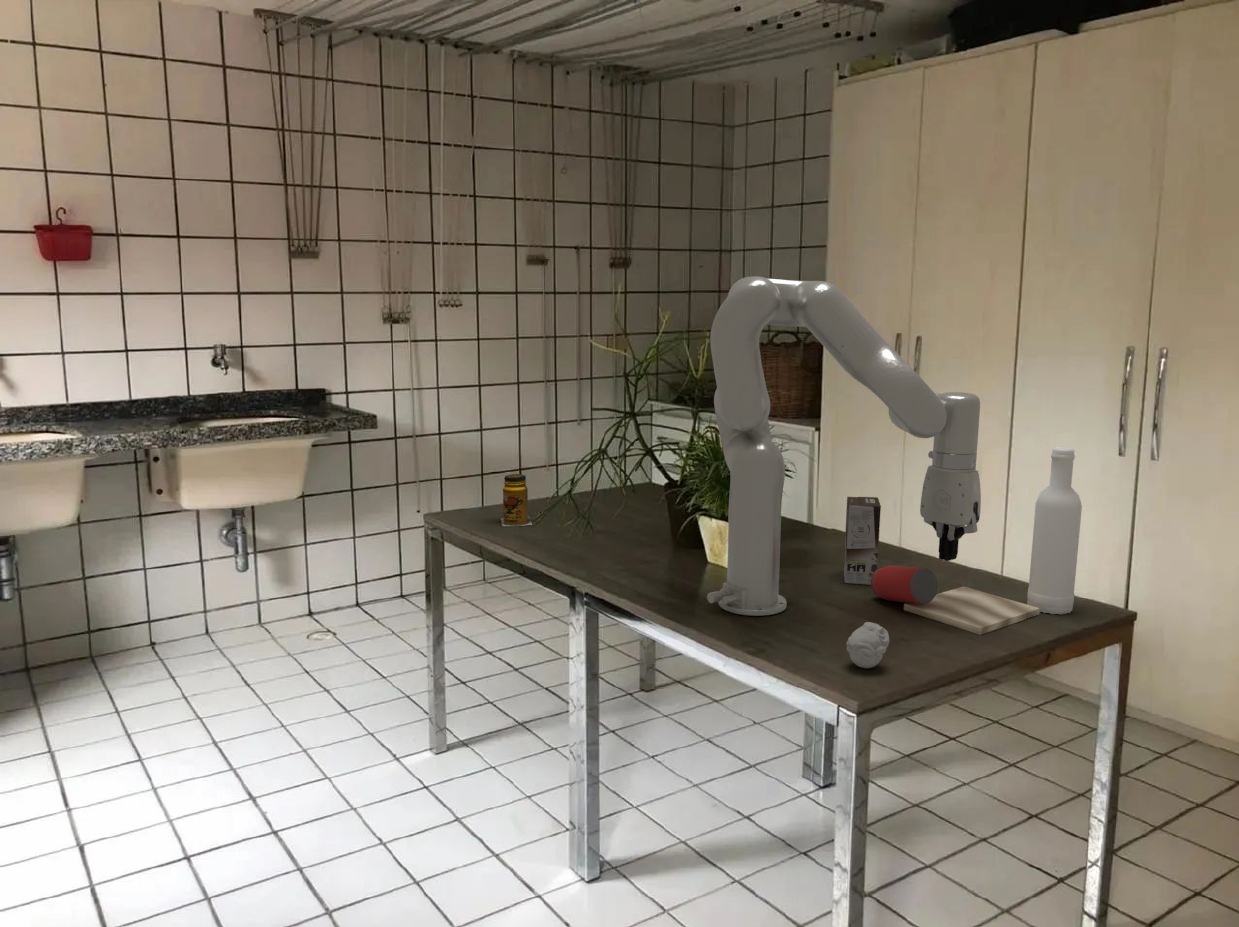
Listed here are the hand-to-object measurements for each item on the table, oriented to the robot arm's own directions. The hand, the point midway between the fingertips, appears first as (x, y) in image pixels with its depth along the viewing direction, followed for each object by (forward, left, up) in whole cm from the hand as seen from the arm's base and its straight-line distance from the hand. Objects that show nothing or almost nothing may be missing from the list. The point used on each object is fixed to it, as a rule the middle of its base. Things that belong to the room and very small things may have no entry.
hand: (947, 558), depth 184 cm
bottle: (+15, -12, -9) cm, 21 cm away
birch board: (+1, -5, -9) cm, 10 cm away
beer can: (-7, -1, -4) cm, 8 cm away
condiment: (-32, +102, -9) cm, 107 cm away
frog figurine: (-35, -11, -9) cm, 38 cm away
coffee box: (+1, +21, -9) cm, 23 cm away
